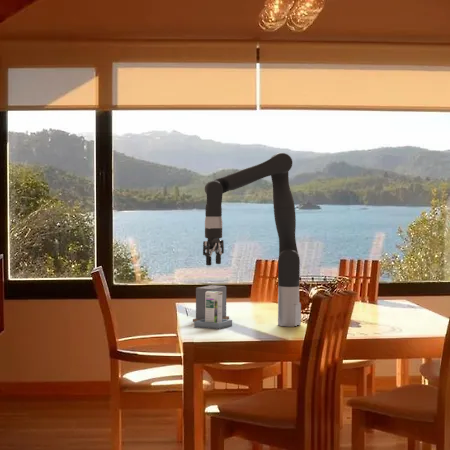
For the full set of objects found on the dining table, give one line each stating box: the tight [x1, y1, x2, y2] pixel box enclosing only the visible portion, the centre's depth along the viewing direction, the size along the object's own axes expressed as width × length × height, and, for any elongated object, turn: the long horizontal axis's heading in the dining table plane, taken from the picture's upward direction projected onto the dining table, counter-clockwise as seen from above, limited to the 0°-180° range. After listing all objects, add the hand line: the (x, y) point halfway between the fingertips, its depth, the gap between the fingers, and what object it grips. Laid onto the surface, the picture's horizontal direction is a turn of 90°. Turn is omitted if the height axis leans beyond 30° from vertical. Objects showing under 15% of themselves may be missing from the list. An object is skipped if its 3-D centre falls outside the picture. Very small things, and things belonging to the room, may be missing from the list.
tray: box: [193, 319, 233, 330], centre depth 357 cm, size 12×12×2 cm
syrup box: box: [205, 291, 222, 323], centre depth 357 cm, size 6×6×14 cm
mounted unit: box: [192, 284, 230, 322], centre depth 376 cm, size 10×16×15 cm, turn 152°
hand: (213, 264), depth 356 cm, fingers open, 8 cm apart
